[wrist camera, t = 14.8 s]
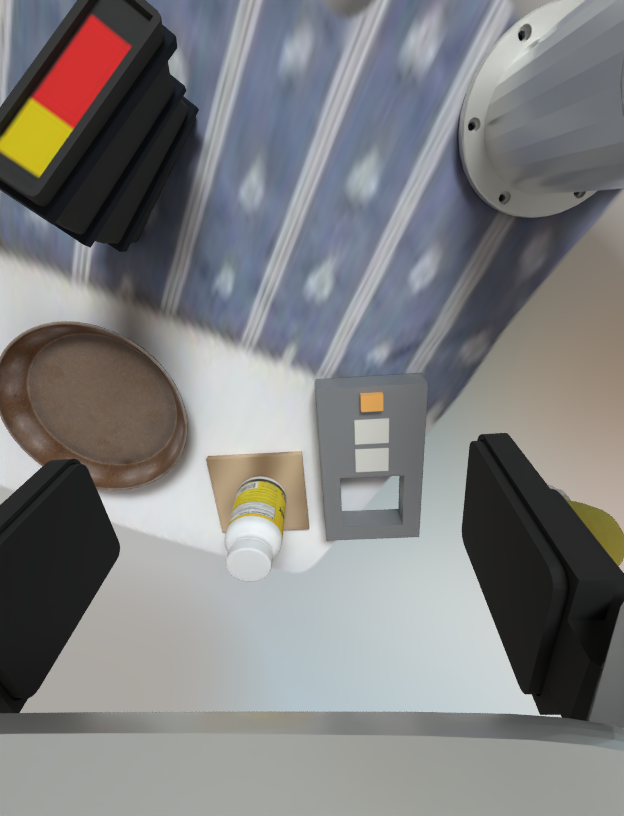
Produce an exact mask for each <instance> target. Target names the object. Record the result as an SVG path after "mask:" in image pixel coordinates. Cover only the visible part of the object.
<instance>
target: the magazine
mask: <svg viewBox="0 0 624 816" xmlns="http://www.w3.org/2000/svg"><path fill="white" fill-rule="evenodd" d="M176 49H177V42H176V36H175V35H174V34H173V33H172V32H171V31H169V30H168V29H167V28H166V27H165V26H163V25H162V21H161V16H160V14H159V12H158V11H157V10H156V9H155V8H154V7H153V6H151V5H150V4H149V3H148V2H147V1H146V0H77V2H76V3H75V4H74V6H73V7H72V8H71V10H70V11H69V13H68V14H67V15H66V17H65V18H64V20H63V21H62V22H61V24H60V25H59V27H58V28H57V29H56V31H55V32H54V33H53V35H52V36H51V38H50V39H49V40H48V42H47V43H46V45H45V46H44V47H43V49H42V50H41V51H40V53H39V54H38V56H37V57H36V58H35V60H34V61H33V63H32V64H31V65H30V67H29V68H28V69H27V71H26V72H25V74H24V75H23V76H22V78H21V79H20V81H19V82H18V83H17V85H16V86H15V87H14V89H13V90H12V92H11V93H10V94H9V96H8V97H7V99H6V100H5V101H4V103H3V104H2V106H1V107H0V190H1V191H3V192H4V193H6V194H7V195H9V196H10V197H12V198H13V199H15V200H16V201H18V202H19V203H21V204H22V205H24V206H25V207H27V208H28V209H30V210H31V211H33V212H34V213H36V214H37V215H39V216H40V217H42V218H43V219H45V220H46V221H48V222H49V223H51V224H53V225H55V226H56V227H58V228H59V229H61V230H62V231H64V232H65V233H67V234H68V235H70V236H71V237H73V238H74V239H76V240H77V241H79V242H80V243H82V244H83V245H86V246H88V247H91V246H92V245H93V243H94V241H97V242H101V243H108V244H109V245H111V246H112V247H114V248H115V249H117V250H118V251H120V252H123V251H127V249H128V247H129V245H130V243H133V242H136V241H137V240H138V238H139V236H140V234H141V232H142V230H143V228H144V226H145V224H146V222H147V220H148V217H149V215H150V213H151V211H152V209H153V207H154V205H155V203H156V201H157V199H158V197H159V195H160V192H161V190H162V188H163V186H164V184H165V182H166V180H167V178H168V176H169V174H170V172H171V170H172V167H173V165H174V163H175V161H176V159H177V157H178V155H179V153H180V151H181V149H182V147H183V145H184V143H185V140H186V138H187V136H188V134H189V132H190V130H191V128H192V126H193V124H194V122H195V120H196V115H197V113H198V111H199V109H198V108H197V107H196V106H195V105H194V104H192V103H191V102H190V101H189V100H187V99H186V98H185V97H184V94H185V92H186V89H185V86H184V85H183V84H182V83H180V82H179V81H178V80H177V79H176V78H174V77H173V76H172V75H171V74H170V72H169V66H168V60H169V59H170V57H171V56H172V55H173V53H174V52H175V50H176Z"/></svg>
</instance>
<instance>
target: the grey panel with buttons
mask: <svg viewBox="0 0 624 816" xmlns="http://www.w3.org/2000/svg"><path fill="white" fill-rule="evenodd" d="M315 391H316V405H317V418H318V431H319V445H320V458H321V471H322V485H323V498H324V511H325V524H326V538H327V540H351V539H376V538H401V537H402V538H403V537H419V529H420V512H421V494H422V478H423V461H424V443H425V427H426V409H427V392H428V382H427V381H426V379H425V378H424V376H423V374H422V373H414V374H397V375H380V376H363V377H347V378H330V379H316V386H315ZM378 476H400V479H399V481H400V483H399V509H392V510H391V509H390V510H366V511H342V507H341V488H340V478H357V477H378Z"/></svg>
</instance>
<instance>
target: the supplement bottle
mask: <svg viewBox="0 0 624 816" xmlns="http://www.w3.org/2000/svg"><path fill="white" fill-rule="evenodd" d="M285 509H286V493H285V490H284V488H283V487H282V486H281V484H279V483H278V482H277V481H275V480H273V479H271V478H268V477H262V476H258V477H252V478H250V479H248V480H246V481H244V482H243V483H242V484H241V485H240V487H239V489H238V491H237V495H236V498H235V502H234V505H233V509H232V512H231V516H230V520H229V523H228V527H227V530H226V534H225V546H226V549H227V551H228V555H227V560H226V566H227V569H228V571H229V572H230V574H231V575H233V576H234V577H235V578H237V579H240V580H242V581H258V580H261V579H263V578H265V577H266V576H267V575H268V574H269V572H270V570H271V566H272V560H273V558H274V557H275V556H276V555H277V554H278V552H279V551H280V548H281V544H282V537H283V528H284V519H285Z"/></svg>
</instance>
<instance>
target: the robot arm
mask: <svg viewBox="0 0 624 816" xmlns="http://www.w3.org/2000/svg"><path fill="white" fill-rule="evenodd" d="M518 33H520V34H521V35H522V41H520V40H519V38H518ZM469 123H472V125H473V130H472V131H469V130H468V124H469ZM458 136H459V153H460V157H461V162H462V166H463V170H464V172H465V174H466V177H467V179H468V181H469V183H470V185H471V186H472V188H473V189H474V191H475V192H476V193H477V195H478V196H479V197H480V198H481V199H482V200H483V201H484V202H486V203H487V204H488V205H489V206H490V207H492V208H494V209H496V210H498V211H500V212H502V213H504V214H508V215H512V216H516V217H528V218H532V217H545V216H549V215H553V214H557V213H560V212H563V211H565V210H568V209H570V208H572V207H574V206H576V205H578V204H580V203H581V202H583V201H584V200H586V199H587V198H589V197H590V196H591V195H593V194H594V193H595V192H597V191H598V190H610V189H623V188H624V0H558V1H553V2H551V3H548V4H546V5H544V6H542V7H540V8H538V9H535V10H533V11H532V12H531V13H529V14H528V15H526V16H525V17H523V18H522V19H521V20H519V21H518V22H516V23H515V24H514V25H513V26H512V27H511V28H510V29H509V30H508V31H507V32H505V33H504V34H503V35H502V36H501V37H500V39H499V40H498V41H497V42H496V43H495V44H494V46H493V47H492V48H491V49H490V50H489V52H488V53H487V54H486V56H485V57H484V59H483V60H482V62H481V64H480V65H479V67H478V69H477V70H476V72H475V74H474V76H473V78H472V81H471V83H470V85H469V87H468V90H467V92H466V95H465V99H464V103H463V106H462V110H461V115H460V123H459V132H458ZM574 192H576V194H575V195H574ZM500 195H502V196H503V199H502V201H501V202H499V196H500ZM469 448H470V449H469V458H468V469H467V479H466V491H465V501H464V512H463V522H462V537H463V542H464V546H465V548H466V551H467V553H468V556H469V558H470V561H471V564H472V566H473V569H474V571H475V573H476V576H477V579H478V581H479V584H480V587H481V589H482V592H483V594H484V597H485V600H486V602H487V605H488V607H489V610H490V612H491V615H492V617H493V620H494V622H495V625H496V628H497V630H498V633H499V635H500V638H501V640H502V643H503V646H504V648H505V651H506V653H507V656H508V659H509V661H510V664H511V666H512V669H513V671H514V674H515V677H516V679H517V682H518V684H519V686H520V689H521V690H522V692H523V693H524V694H532V696H533V698H534V701H535V703H536V706H537V708H538V711H539V713H540V715H554V714H555V715H561V716H562V718H560V717H546V716H532V715H518V714H486V713H485V714H484V713H436V712H435V713H434V712H104V713H103V712H92V713H91V712H90V713H88V712H86V713H84V712H83V713H20V711H21V709H22V708H23V706H24V704H25V703H26V701H27V699H28V698H30V697H32V696H33V695H34V694H35V693H36V692H37V690H38V689H39V688H40V686H41V684H42V683H43V681H44V679H45V678H46V676H47V674H48V673H49V671H50V669H51V668H52V666H53V664H54V663H55V661H56V659H57V658H58V656H59V654H60V653H61V651H62V649H63V648H64V646H65V645H66V643H67V641H68V639H69V638H70V636H71V635H72V632H73V631H74V630H75V628H76V626H77V625H78V623H79V621H80V620H81V618H82V616H83V614H84V613H85V611H86V610H87V608H88V606H89V605H90V603H91V601H92V600H93V598H94V596H95V595H96V593H97V591H98V590H99V588H100V586H101V585H102V583H103V581H104V580H105V578H106V577H107V575H108V573H109V572H110V570H111V568H112V567H113V565H114V563H115V562H116V560H117V558H118V556H119V552H120V544H119V541H118V539H117V536H116V534H115V532H114V529H113V527H112V524H111V522H110V520H109V517H108V515H107V513H106V510H105V508H104V506H103V503H102V501H101V498H100V496H99V494H98V491H97V489H96V487H95V484H94V482H93V479H92V477H91V475H90V472H89V470H88V468H87V467H86V466H85V465H84V464H81V462H80V461H79V460H77V459H61V460H51V461H49V462H47V463H46V464H45V465H44V466H43V467H42V468H40V469H39V470H38V471H37V472H36V473H35V474H34V475H33V476H32V477H31V478H29V479H28V480H27V481H26V482H25V483H24V484H23V485H22V486H21V487H20V488H18V489H17V490H16V491H15V492H14V493H13V494H12V495H11V496H10V497H9V498H8V499H6V500H5V501H4V502H3V503H2V504H1V505H0V816H624V573H623V572H622V571H621V569H620V568H619V567H618V565H617V564H616V563H615V562H614V560H613V559H612V558H611V557H610V555H609V554H608V553H607V552H606V550H605V549H604V548H603V546H602V545H601V544H600V543H599V541H598V540H597V539H596V538H595V536H594V535H593V534H592V533H591V531H590V530H589V529H588V528H587V526H586V525H585V524H584V522H583V521H582V520H581V519H580V517H579V516H578V515H577V514H576V512H575V511H574V510H573V509H572V507H571V506H570V505H569V503H568V502H567V501H566V500H565V498H564V497H563V496H562V495H561V494H560V493H559V492H558V491H557V490H555V489H552V488H551V489H550V488H549V486H548V485H547V484H546V483H545V481H544V480H543V479H542V477H541V476H540V475H539V473H538V472H537V471H536V470H535V468H534V467H533V466H532V464H531V463H530V462H529V460H528V459H527V458H526V457H525V455H524V454H523V453H522V451H521V450H520V449H519V448H518V446H517V445H516V444H515V442H514V441H513V440H512V438H511V437H510V436H509V435H508V434H507V433H499V434H498V433H497V434H481V435H480V436H479V437H478V440H477V441H472V442H471V443H470V447H469Z"/></svg>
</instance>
